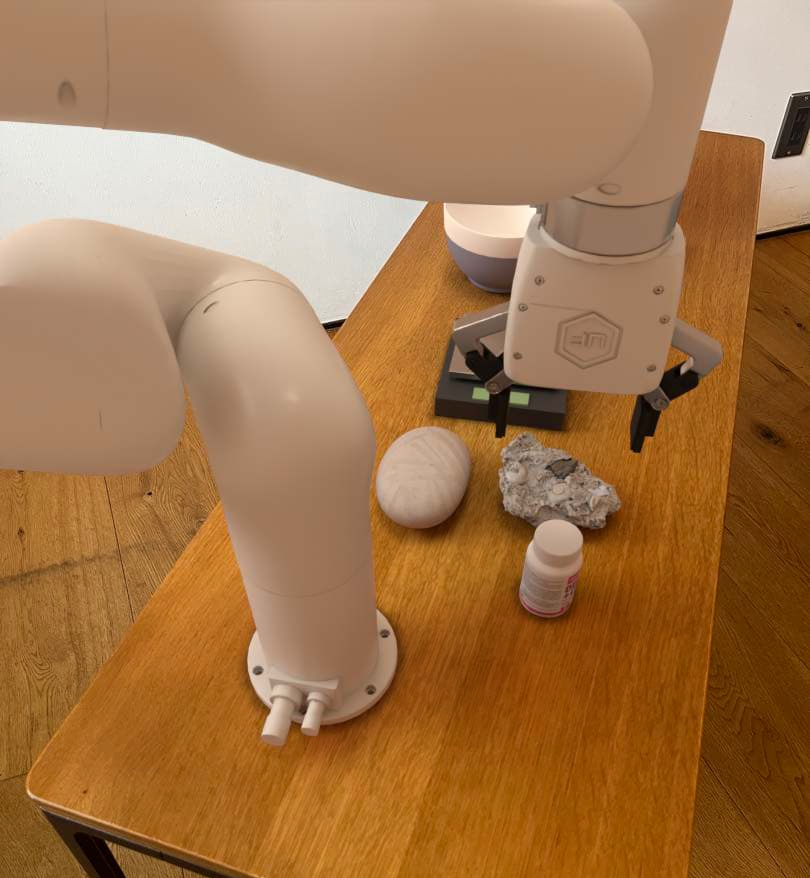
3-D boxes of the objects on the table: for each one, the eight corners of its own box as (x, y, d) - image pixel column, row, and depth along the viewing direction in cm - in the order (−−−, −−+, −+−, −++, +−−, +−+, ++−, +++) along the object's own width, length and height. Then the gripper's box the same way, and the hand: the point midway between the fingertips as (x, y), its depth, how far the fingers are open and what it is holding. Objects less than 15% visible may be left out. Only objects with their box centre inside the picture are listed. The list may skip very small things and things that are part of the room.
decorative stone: (403, 441, 84) (402, 405, 80) (484, 461, 82) (487, 425, 78) (358, 527, 76) (355, 492, 72) (446, 551, 74) (448, 516, 70)
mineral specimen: (524, 456, 83) (633, 492, 78) (477, 525, 77) (592, 568, 73) (525, 414, 79) (642, 449, 74) (475, 483, 73) (598, 526, 68)
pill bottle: (570, 623, 69) (586, 563, 62) (515, 614, 70) (526, 554, 63) (573, 580, 72) (589, 519, 65) (521, 572, 73) (532, 511, 66)
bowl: (547, 318, 98) (557, 247, 91) (425, 295, 102) (426, 225, 94) (571, 253, 108) (583, 184, 100) (460, 235, 111) (463, 167, 104)
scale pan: (558, 389, 85) (559, 383, 84) (448, 376, 86) (448, 371, 85) (565, 329, 91) (566, 324, 91) (463, 319, 93) (463, 313, 92)
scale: (561, 431, 85) (565, 411, 83) (434, 415, 87) (434, 395, 85) (570, 347, 94) (573, 328, 92) (454, 335, 96) (455, 315, 94)
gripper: (447, 229, 43) (442, 455, 56) (779, 253, 41) (692, 483, 54) (465, 165, 47) (456, 388, 61) (763, 184, 45) (687, 410, 58)
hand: (567, 432), depth 57 cm, fingers open, 9 cm apart
